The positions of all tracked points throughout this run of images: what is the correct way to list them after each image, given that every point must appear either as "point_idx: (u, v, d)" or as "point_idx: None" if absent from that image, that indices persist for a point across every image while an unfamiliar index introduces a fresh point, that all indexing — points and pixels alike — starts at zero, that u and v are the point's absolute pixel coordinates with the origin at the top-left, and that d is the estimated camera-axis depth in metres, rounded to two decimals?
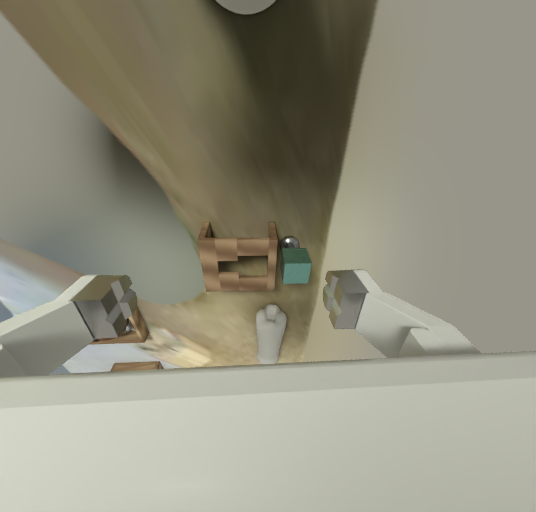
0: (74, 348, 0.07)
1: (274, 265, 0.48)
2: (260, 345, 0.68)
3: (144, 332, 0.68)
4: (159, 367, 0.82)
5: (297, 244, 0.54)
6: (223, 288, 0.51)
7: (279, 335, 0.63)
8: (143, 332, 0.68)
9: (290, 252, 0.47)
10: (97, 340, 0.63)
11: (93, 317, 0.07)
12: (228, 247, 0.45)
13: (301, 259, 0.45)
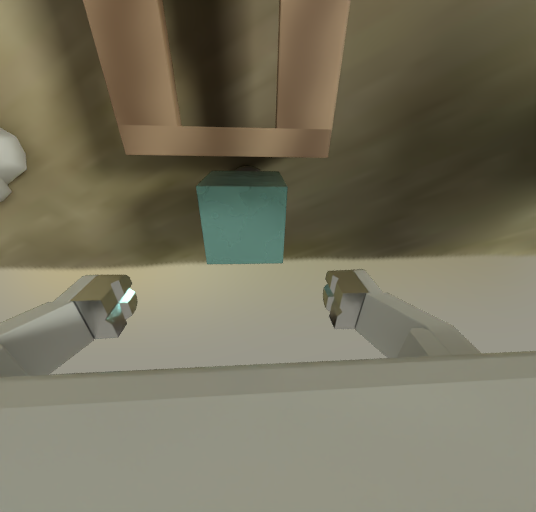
0: (74, 348, 0.07)
1: (236, 151, 0.15)
2: None
3: None
4: None
5: None
6: None
7: None
8: None
9: None
10: None
11: (93, 317, 0.07)
12: None
13: None
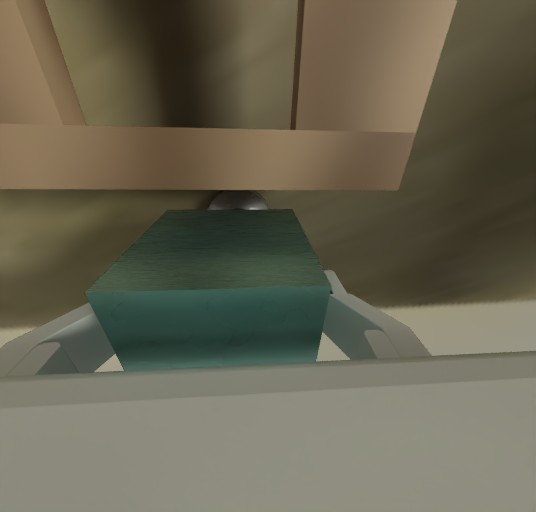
0: None
1: (207, 179, 0.07)
2: None
3: None
4: None
5: None
6: None
7: None
8: None
9: None
10: None
11: None
12: None
13: None
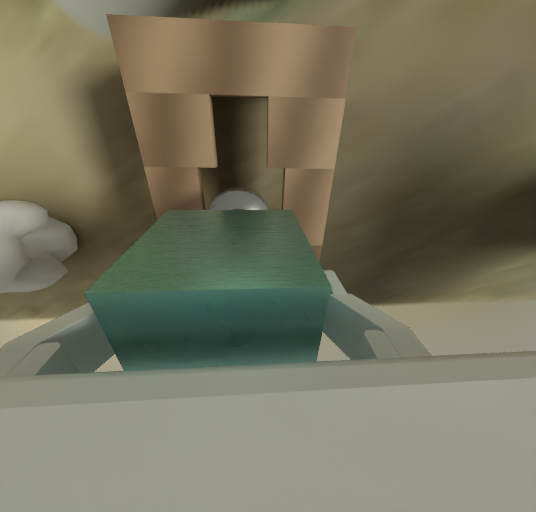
0: None
1: None
2: None
3: None
4: None
5: None
6: (142, 104, 0.14)
7: None
8: None
9: None
10: None
11: None
12: (316, 142, 0.16)
13: None
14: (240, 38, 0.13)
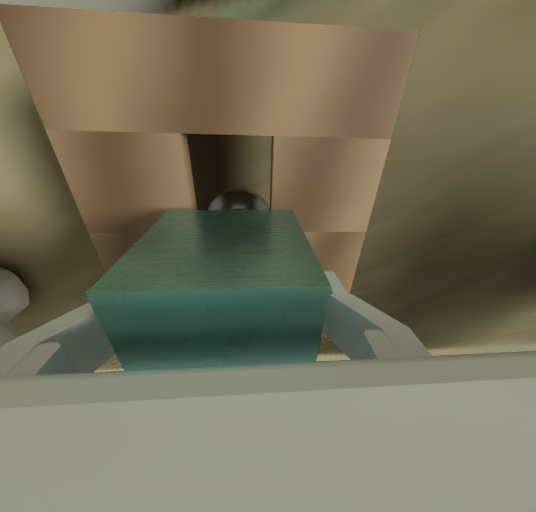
0: None
1: None
2: None
3: None
4: None
5: None
6: (76, 148, 0.09)
7: None
8: None
9: None
10: None
11: None
12: (343, 197, 0.11)
13: None
14: (228, 47, 0.08)
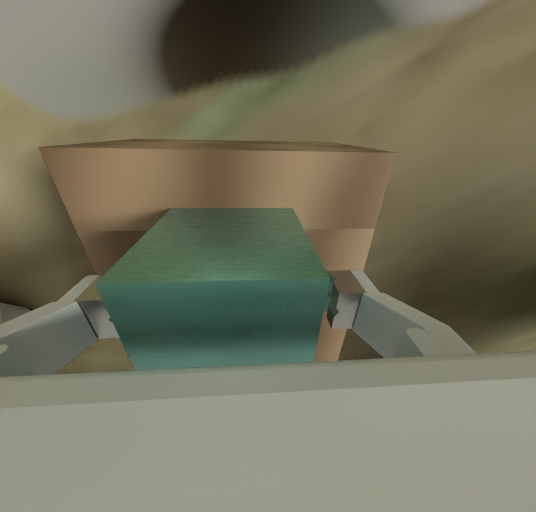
0: (78, 348, 0.07)
1: None
2: None
3: None
4: None
5: None
6: (101, 243, 0.10)
7: None
8: None
9: None
10: None
11: (97, 317, 0.07)
12: None
13: None
14: (233, 169, 0.09)
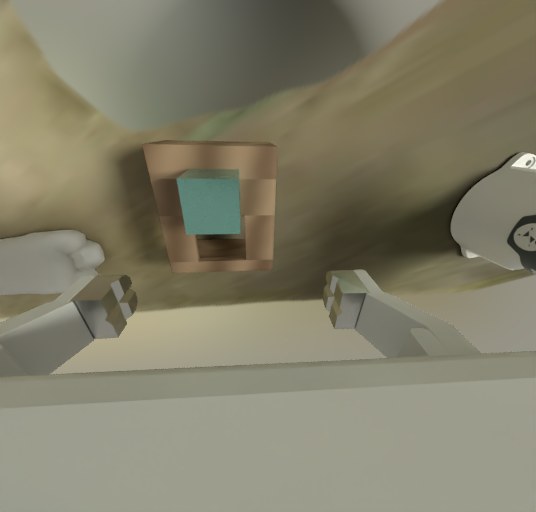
0: (74, 348, 0.07)
1: (227, 269, 0.31)
2: None
3: None
4: None
5: None
6: (159, 184, 0.25)
7: (41, 291, 0.30)
8: None
9: None
10: None
11: (93, 317, 0.07)
12: (262, 201, 0.27)
13: None
14: (214, 152, 0.24)
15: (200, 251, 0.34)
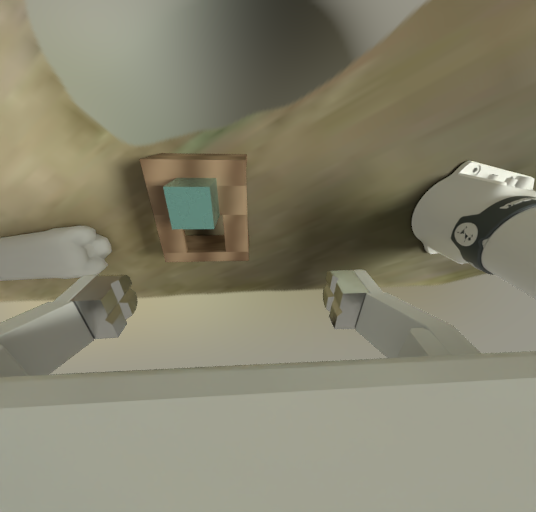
0: (74, 348, 0.07)
1: (210, 259, 0.37)
2: (6, 249, 0.35)
3: None
4: None
5: None
6: (153, 190, 0.31)
7: (61, 275, 0.37)
8: None
9: (215, 193, 0.30)
10: None
11: (93, 317, 0.07)
12: (236, 203, 0.33)
13: (214, 213, 0.29)
14: (195, 165, 0.30)
15: (190, 244, 0.40)
